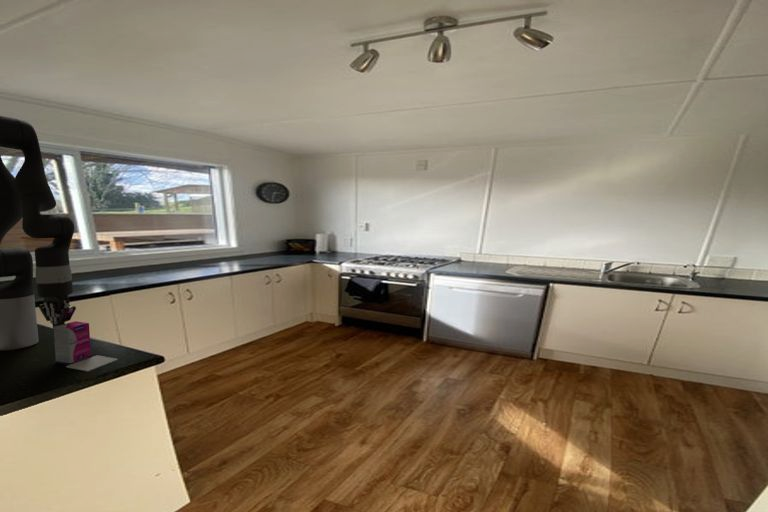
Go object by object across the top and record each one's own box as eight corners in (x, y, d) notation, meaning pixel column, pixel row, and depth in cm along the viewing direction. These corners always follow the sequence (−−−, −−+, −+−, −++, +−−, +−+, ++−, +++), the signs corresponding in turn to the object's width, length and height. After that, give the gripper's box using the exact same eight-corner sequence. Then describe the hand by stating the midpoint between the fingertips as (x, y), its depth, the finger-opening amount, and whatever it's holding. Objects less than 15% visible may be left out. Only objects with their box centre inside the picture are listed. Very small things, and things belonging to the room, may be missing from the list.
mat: (66, 367, 91) (65, 366, 90) (97, 356, 98) (97, 355, 98) (87, 371, 88) (87, 370, 88) (118, 359, 96) (118, 359, 96)
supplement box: (70, 365, 92) (67, 328, 91) (55, 363, 93) (51, 326, 92) (92, 357, 98) (89, 322, 96) (77, 355, 99) (74, 320, 97)
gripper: (23, 280, 92) (29, 336, 94) (53, 283, 89) (58, 341, 91) (55, 276, 99) (60, 328, 101) (84, 279, 96) (89, 332, 98)
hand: (59, 334), depth 96 cm, fingers closed
